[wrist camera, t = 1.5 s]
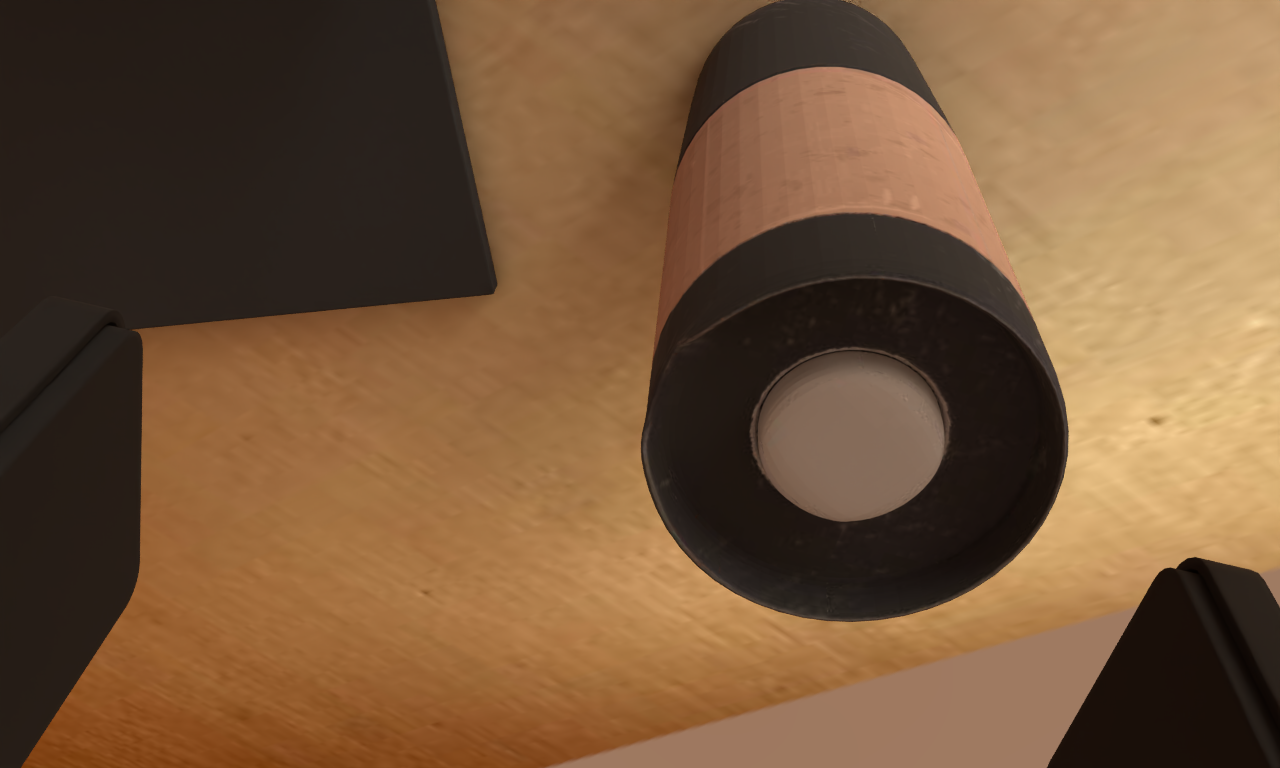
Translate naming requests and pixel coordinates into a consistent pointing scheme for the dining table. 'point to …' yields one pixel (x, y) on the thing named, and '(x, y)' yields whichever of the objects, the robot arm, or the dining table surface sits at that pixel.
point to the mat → (232, 159)
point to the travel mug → (841, 335)
